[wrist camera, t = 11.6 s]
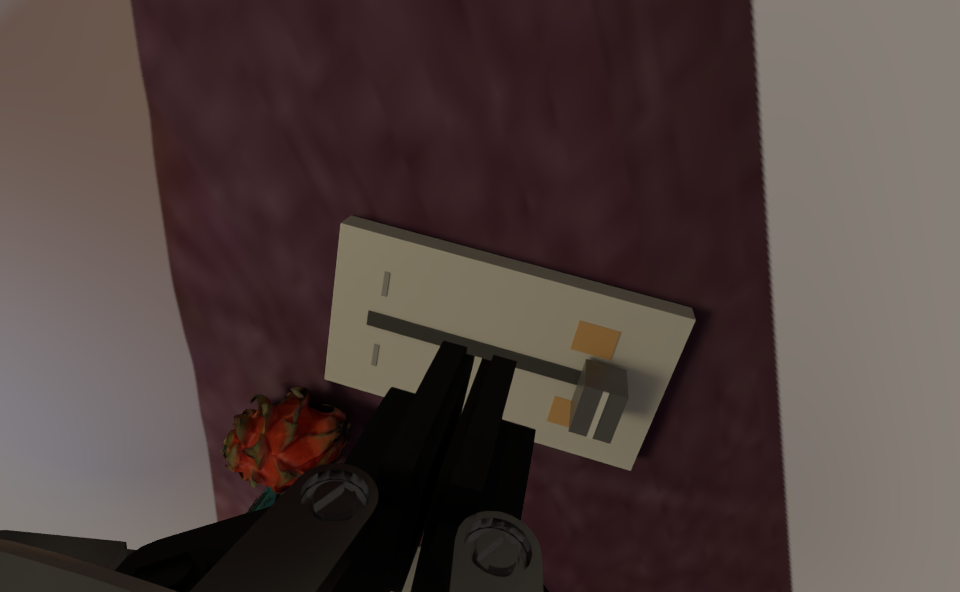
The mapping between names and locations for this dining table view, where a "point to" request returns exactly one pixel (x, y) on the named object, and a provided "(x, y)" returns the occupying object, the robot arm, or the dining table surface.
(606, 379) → the fader
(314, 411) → the dragon fruit
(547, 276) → the slider board
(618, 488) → the dining table surface
